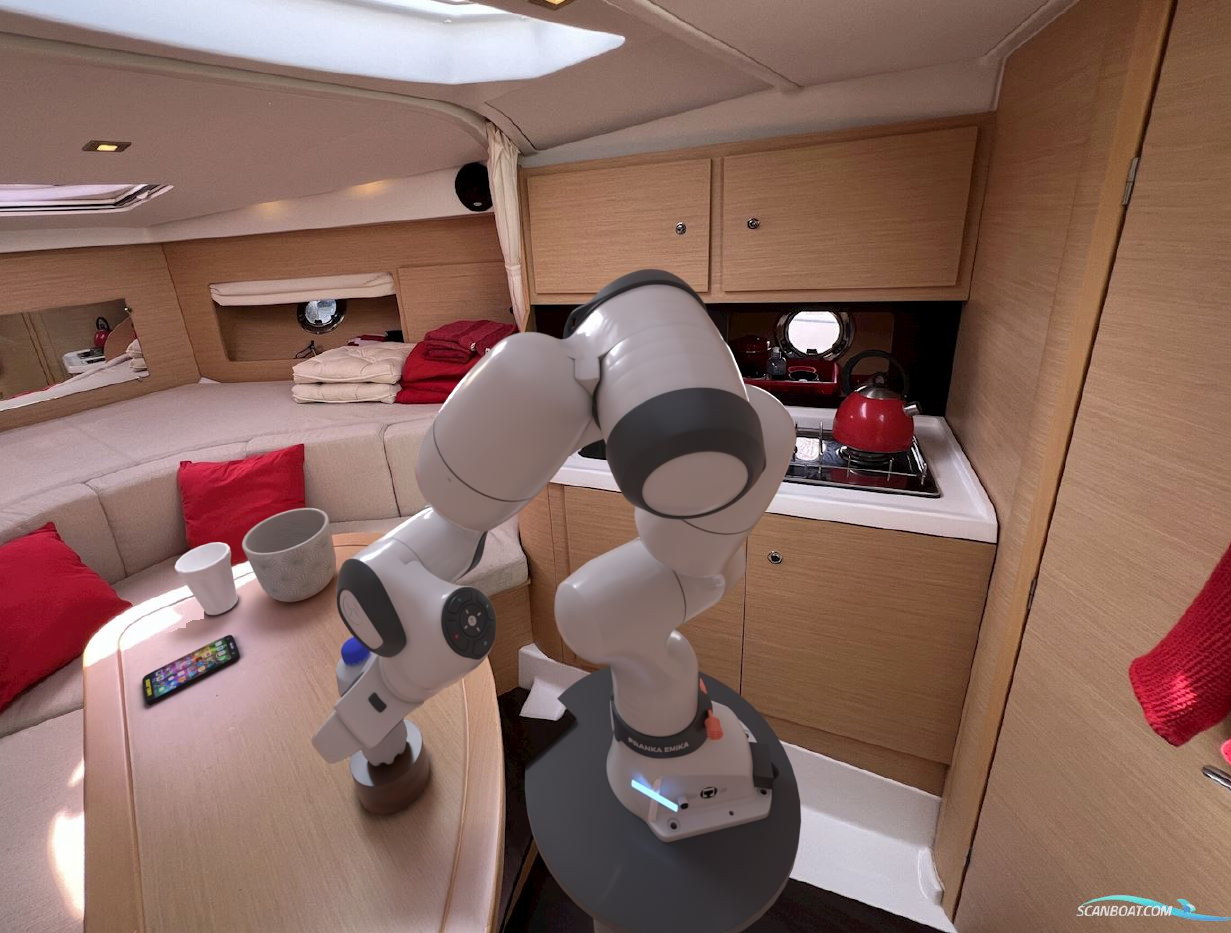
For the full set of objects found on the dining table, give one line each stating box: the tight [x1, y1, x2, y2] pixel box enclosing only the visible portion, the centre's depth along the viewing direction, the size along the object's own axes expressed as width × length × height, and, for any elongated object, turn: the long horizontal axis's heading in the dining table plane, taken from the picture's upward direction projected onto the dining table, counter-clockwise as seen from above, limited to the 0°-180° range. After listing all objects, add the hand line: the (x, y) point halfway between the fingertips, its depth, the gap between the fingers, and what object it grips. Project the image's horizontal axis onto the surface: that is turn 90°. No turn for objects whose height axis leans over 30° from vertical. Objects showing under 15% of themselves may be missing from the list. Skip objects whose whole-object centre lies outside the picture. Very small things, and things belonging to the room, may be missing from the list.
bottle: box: [335, 636, 407, 766], centre depth 72 cm, size 7×7×20 cm
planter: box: [241, 507, 337, 603], centre depth 117 cm, size 17×17×15 cm
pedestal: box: [349, 718, 430, 816], centre depth 77 cm, size 10×10×6 cm
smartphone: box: [141, 634, 241, 705], centre depth 100 cm, size 8×1×15 cm
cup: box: [174, 541, 239, 616], centre depth 114 cm, size 10×10×13 cm
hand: (367, 695), depth 73 cm, fingers closed on bottle, 6 cm apart
